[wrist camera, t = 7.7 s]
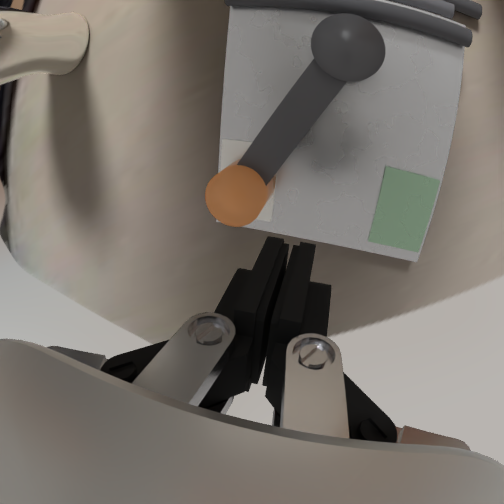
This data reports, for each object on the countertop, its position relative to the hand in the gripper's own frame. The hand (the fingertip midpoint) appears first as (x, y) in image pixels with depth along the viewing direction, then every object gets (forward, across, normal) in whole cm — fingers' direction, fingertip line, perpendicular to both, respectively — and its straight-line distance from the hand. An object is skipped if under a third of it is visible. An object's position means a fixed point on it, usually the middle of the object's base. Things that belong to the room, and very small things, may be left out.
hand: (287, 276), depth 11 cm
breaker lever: (+9, +1, -4) cm, 10 cm away
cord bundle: (+12, -1, -13) cm, 17 cm away
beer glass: (+12, +22, -11) cm, 27 cm away
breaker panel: (+12, -1, -5) cm, 12 cm away
